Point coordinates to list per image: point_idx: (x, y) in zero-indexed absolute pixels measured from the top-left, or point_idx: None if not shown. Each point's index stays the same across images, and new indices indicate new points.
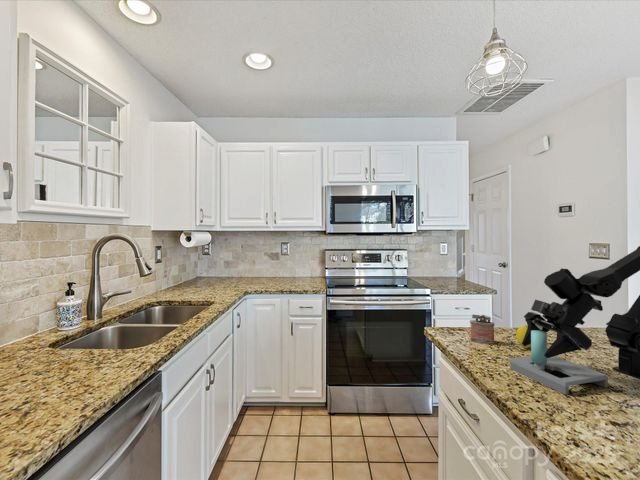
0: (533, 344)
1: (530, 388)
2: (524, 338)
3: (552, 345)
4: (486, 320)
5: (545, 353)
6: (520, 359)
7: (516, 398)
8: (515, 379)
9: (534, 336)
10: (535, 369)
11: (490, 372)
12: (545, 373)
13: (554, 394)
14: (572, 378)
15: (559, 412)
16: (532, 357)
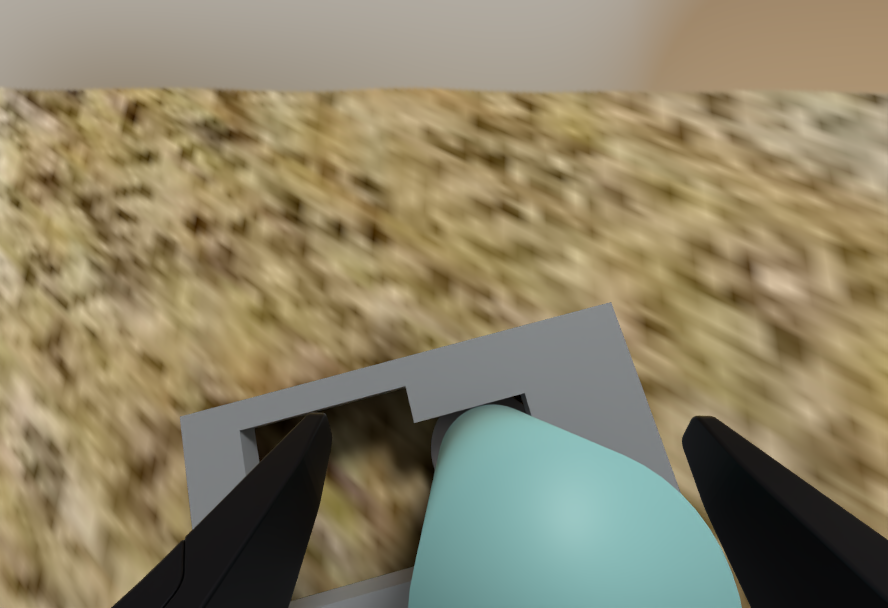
0: (500, 420)
1: (320, 273)
2: (775, 472)
3: (216, 539)
4: None
5: (306, 426)
6: (593, 371)
7: (234, 148)
8: (431, 259)
9: (499, 444)
10: (399, 360)
11: (527, 174)
12: (326, 383)
13: (243, 353)
14: None
15: (91, 253)
16: (498, 406)
